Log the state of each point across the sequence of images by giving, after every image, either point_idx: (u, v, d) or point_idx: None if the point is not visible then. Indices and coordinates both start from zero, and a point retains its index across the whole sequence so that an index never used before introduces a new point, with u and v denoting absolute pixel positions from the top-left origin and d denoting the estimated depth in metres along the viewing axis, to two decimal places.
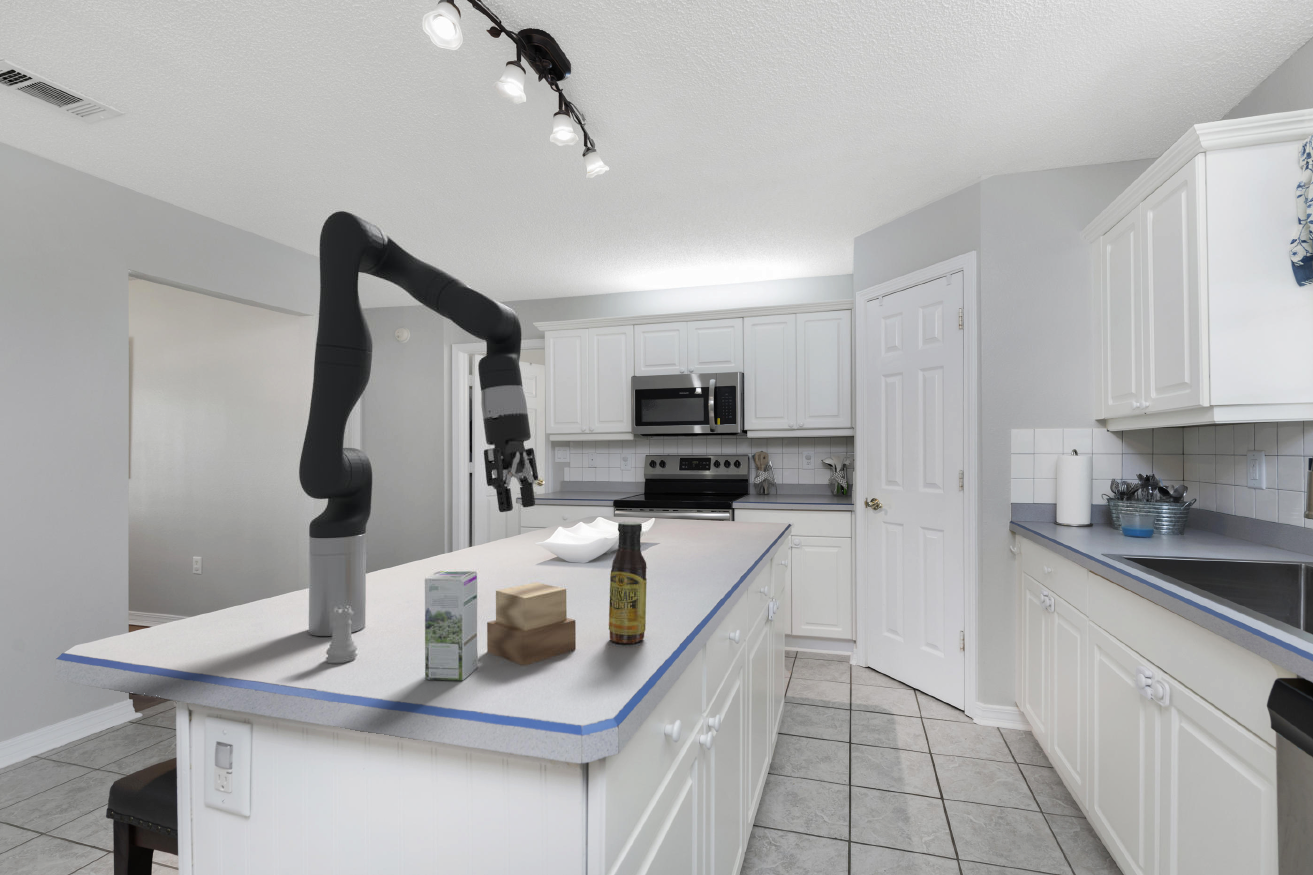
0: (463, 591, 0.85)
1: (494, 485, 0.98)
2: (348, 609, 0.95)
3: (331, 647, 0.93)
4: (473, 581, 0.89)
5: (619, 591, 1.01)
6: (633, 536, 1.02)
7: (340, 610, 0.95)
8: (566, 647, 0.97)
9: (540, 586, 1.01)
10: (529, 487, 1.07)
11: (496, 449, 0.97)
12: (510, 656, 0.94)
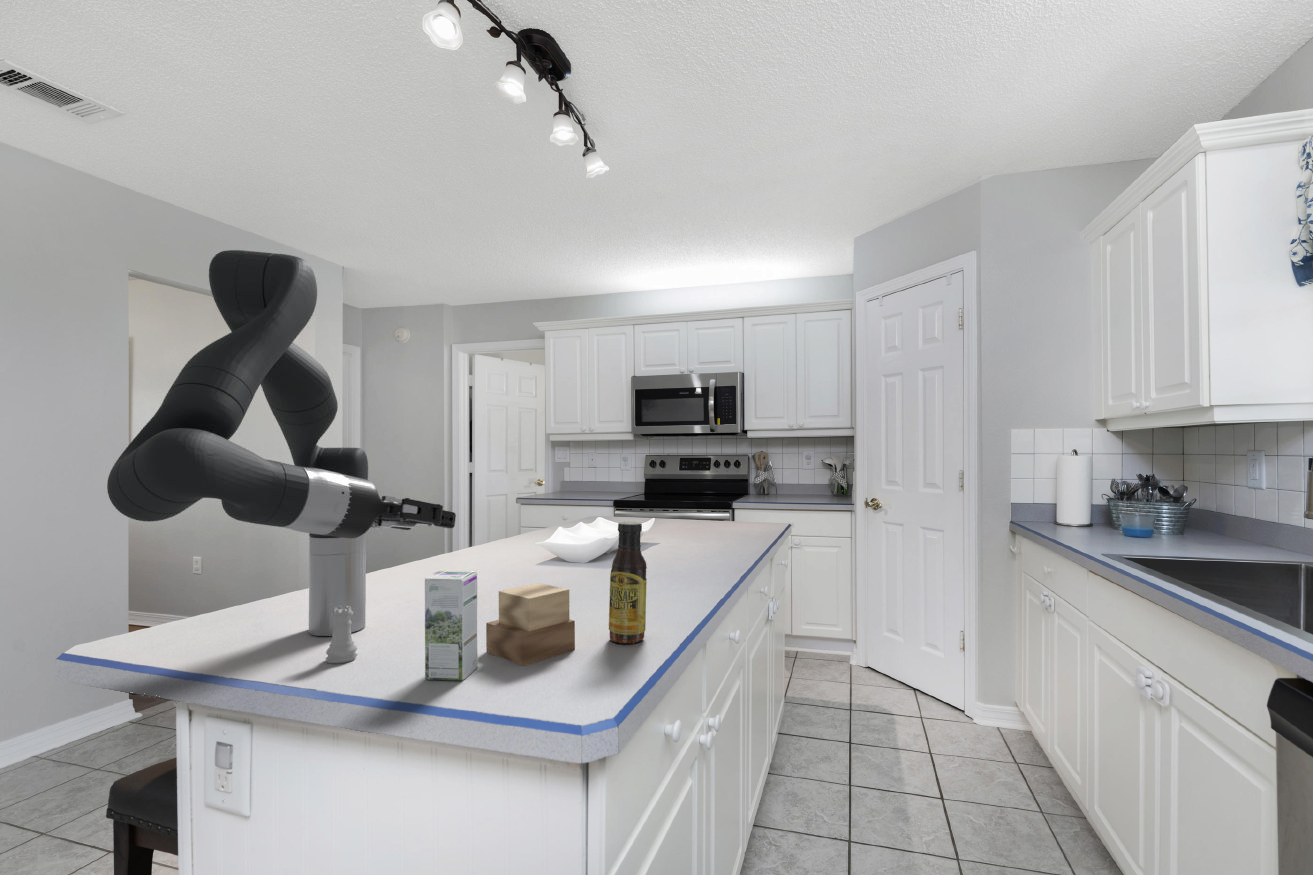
0: (463, 591, 0.85)
1: None
2: (348, 609, 0.95)
3: (331, 647, 0.93)
4: (473, 581, 0.89)
5: (619, 591, 1.01)
6: (633, 536, 1.02)
7: (340, 610, 0.95)
8: (565, 647, 0.97)
9: (543, 587, 1.01)
10: None
11: None
12: (509, 656, 0.94)
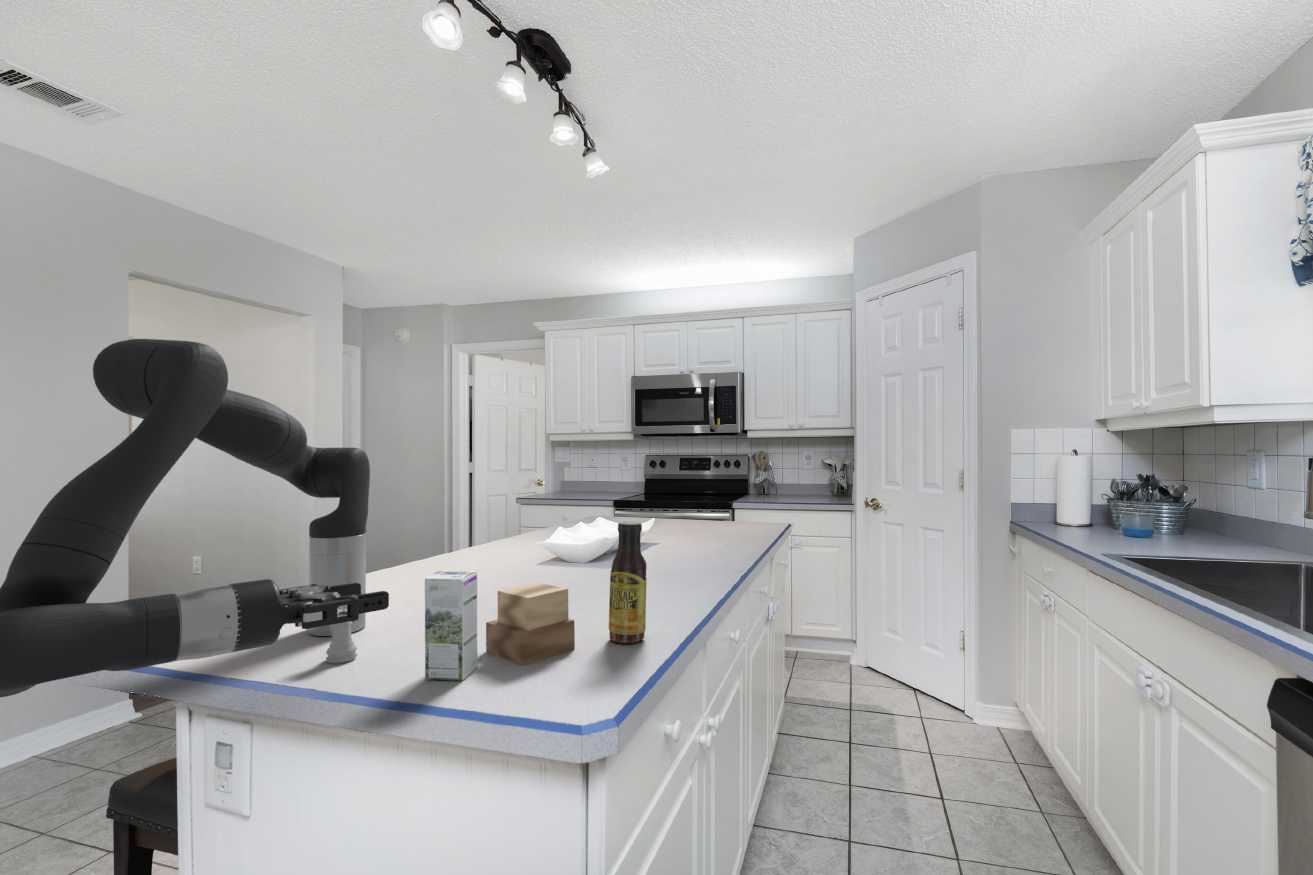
0: (463, 591, 0.85)
1: None
2: None
3: (331, 647, 0.93)
4: (473, 581, 0.89)
5: (619, 591, 1.01)
6: (633, 536, 1.02)
7: (340, 610, 0.95)
8: (565, 647, 0.97)
9: (541, 586, 1.01)
10: None
11: None
12: (509, 656, 0.94)
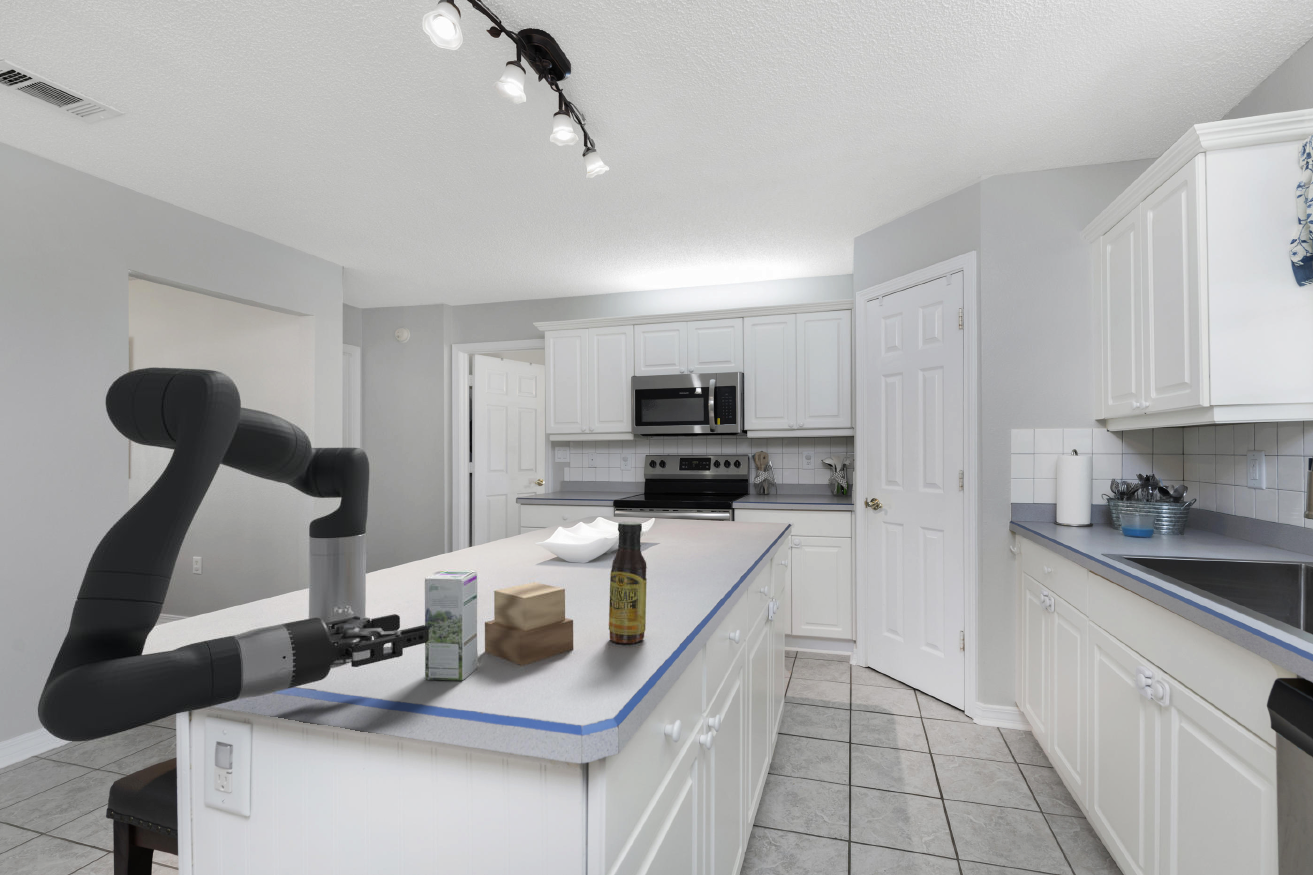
0: (463, 591, 0.85)
1: None
2: (348, 609, 0.95)
3: None
4: (473, 581, 0.89)
5: (619, 591, 1.01)
6: (633, 536, 1.02)
7: (340, 610, 0.95)
8: (563, 646, 0.97)
9: (538, 586, 1.01)
10: None
11: None
12: (507, 656, 0.94)
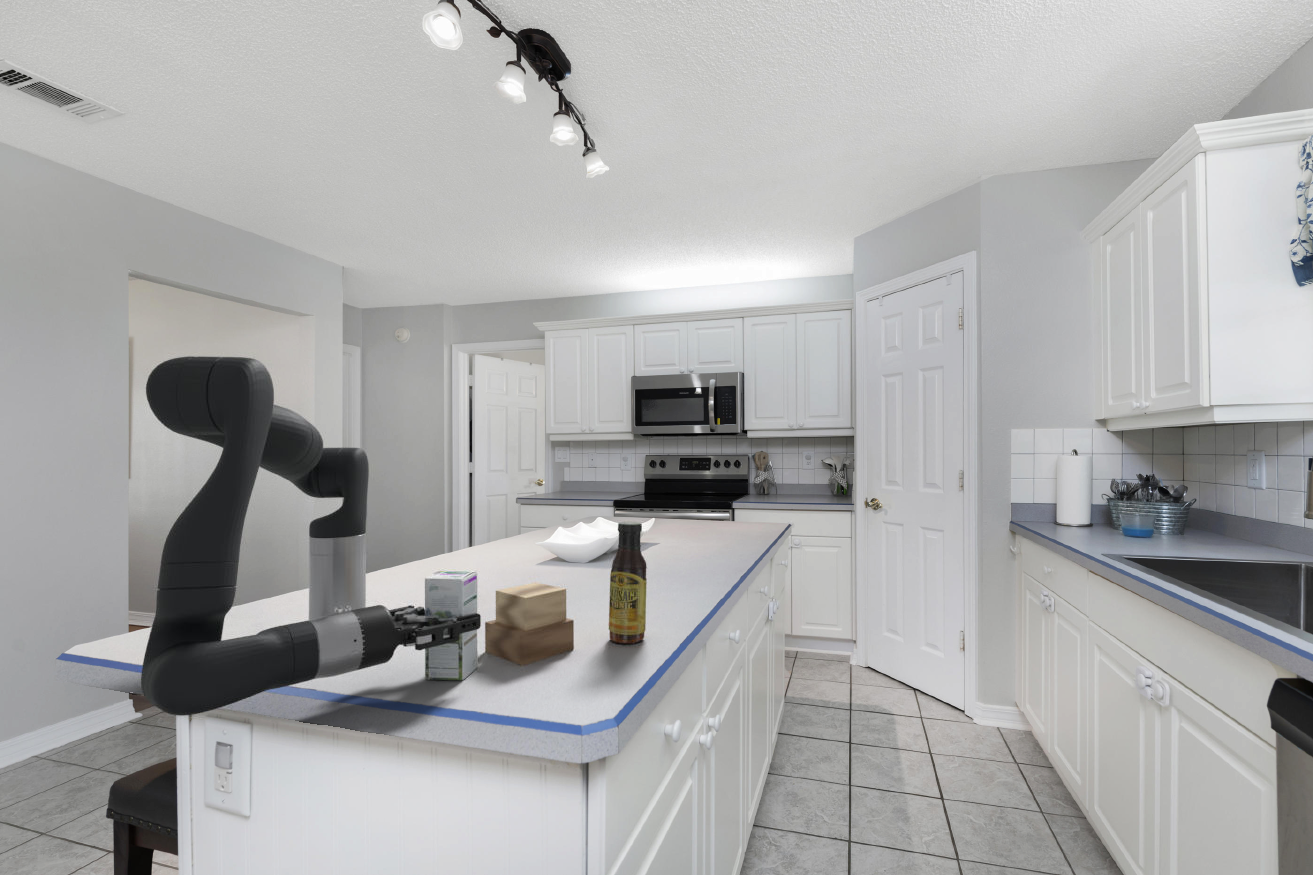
0: (463, 591, 0.85)
1: None
2: (348, 609, 0.95)
3: None
4: (473, 581, 0.89)
5: (619, 591, 1.01)
6: (633, 536, 1.02)
7: (340, 610, 0.95)
8: (564, 647, 0.97)
9: (540, 586, 1.01)
10: None
11: None
12: (508, 656, 0.94)
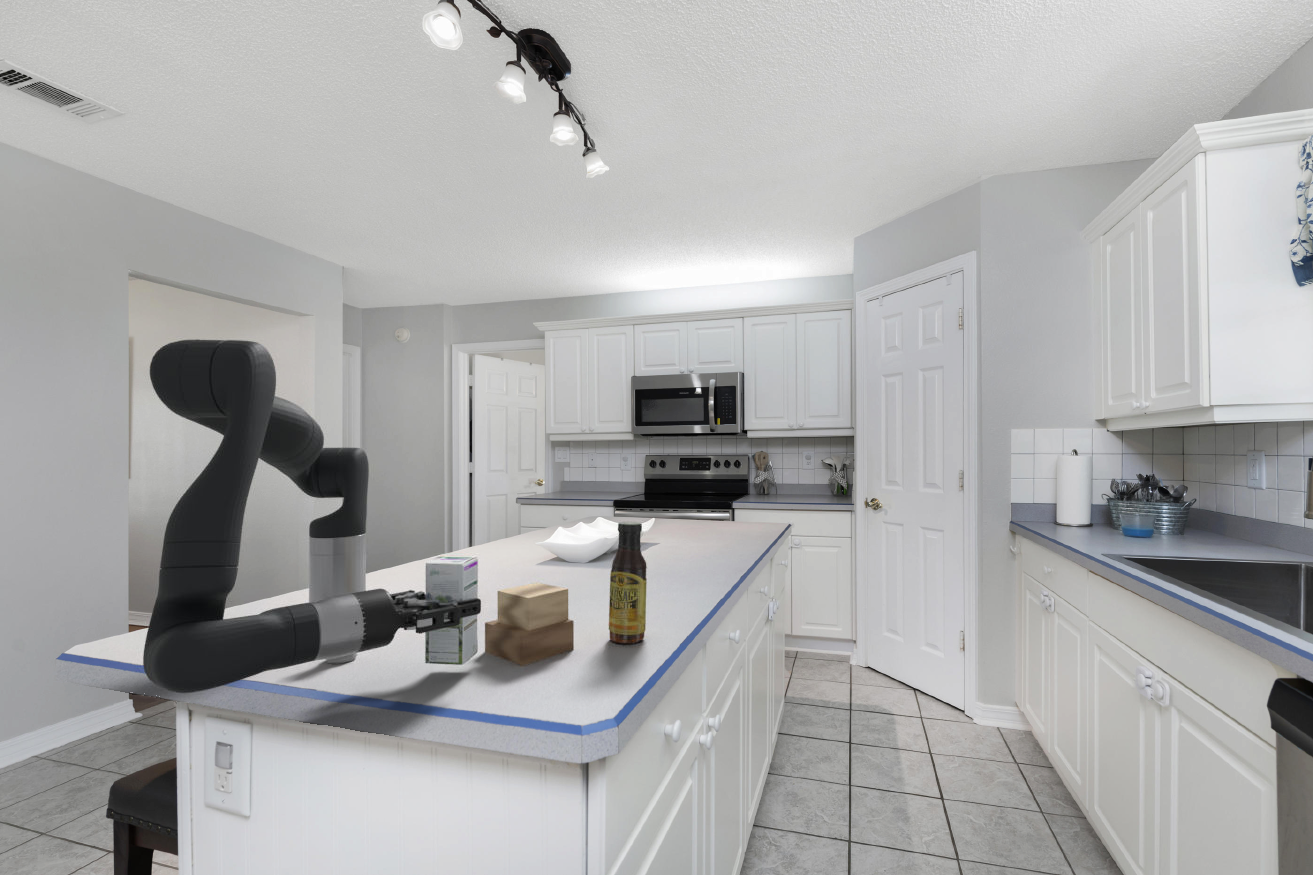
0: (464, 576, 0.86)
1: None
2: None
3: None
4: (474, 566, 0.89)
5: (619, 591, 1.01)
6: (633, 536, 1.02)
7: None
8: (564, 647, 0.97)
9: (541, 586, 1.01)
10: None
11: None
12: (508, 656, 0.94)
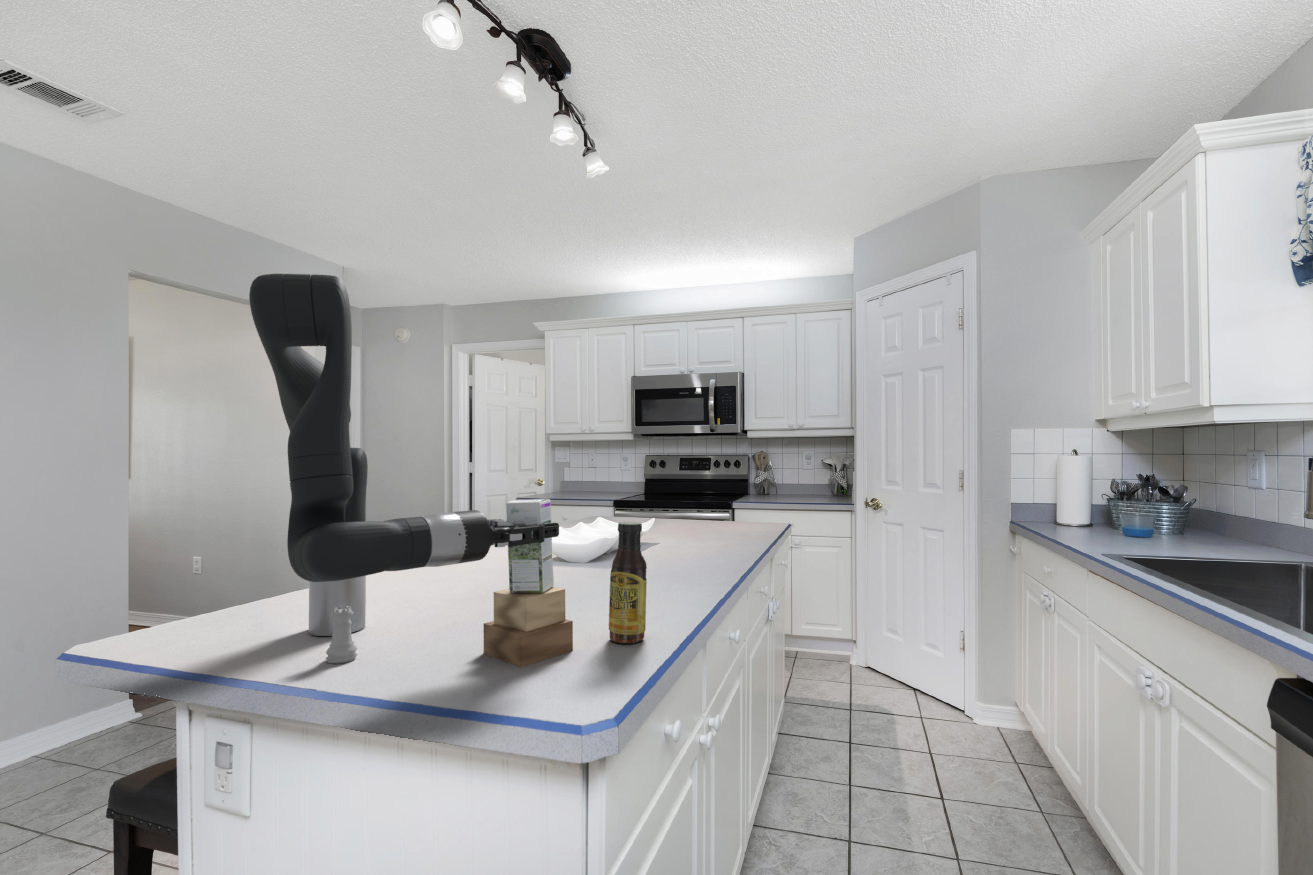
0: (541, 512, 0.96)
1: None
2: (348, 609, 0.95)
3: (331, 647, 0.93)
4: (548, 507, 0.99)
5: (619, 591, 1.01)
6: (633, 536, 1.02)
7: (340, 610, 0.95)
8: (563, 648, 0.97)
9: None
10: None
11: None
12: (506, 657, 0.93)
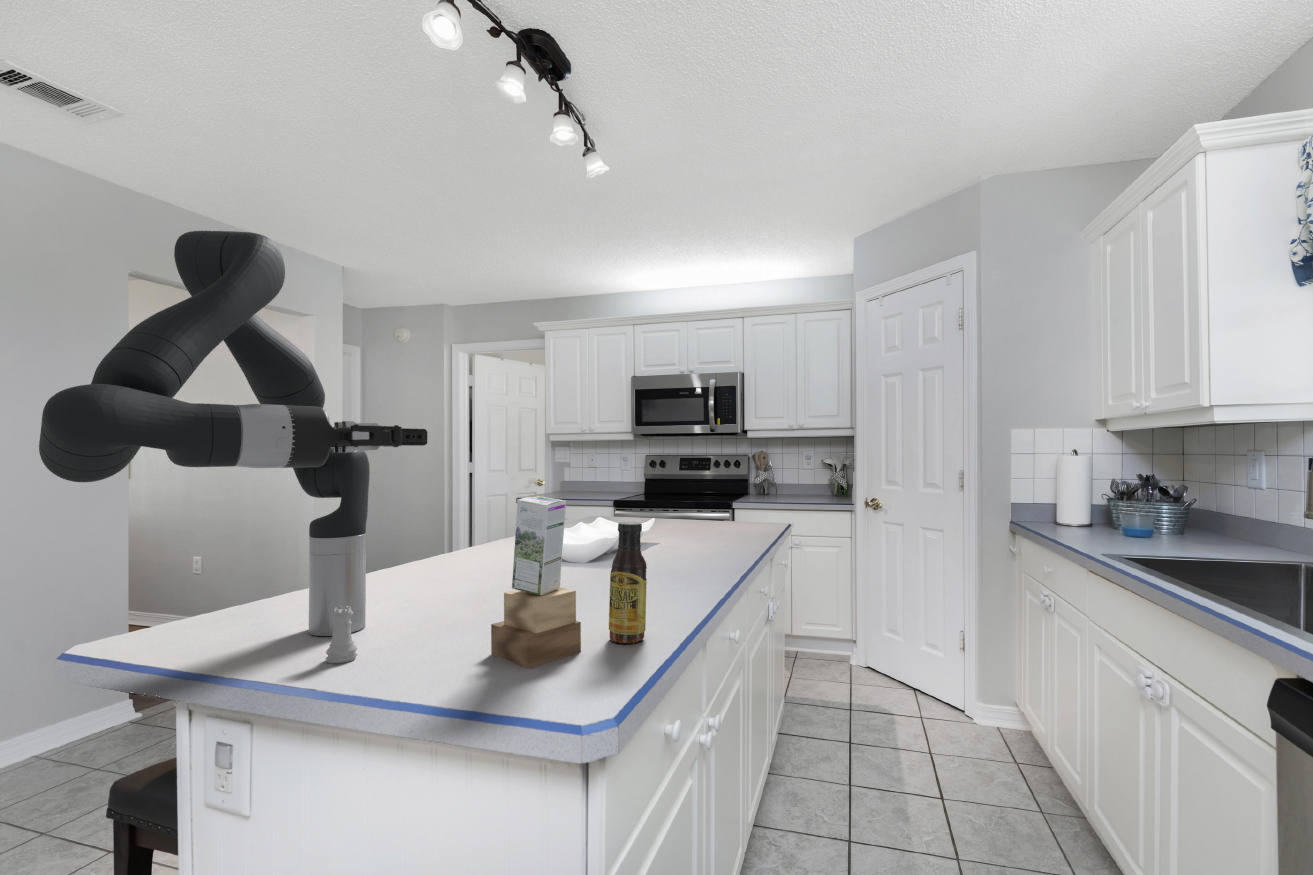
0: (547, 516, 0.93)
1: None
2: (348, 609, 0.95)
3: (331, 647, 0.93)
4: (560, 509, 0.96)
5: (619, 591, 1.01)
6: (633, 536, 1.02)
7: (340, 610, 0.95)
8: (571, 649, 0.96)
9: None
10: None
11: None
12: (514, 658, 0.92)
